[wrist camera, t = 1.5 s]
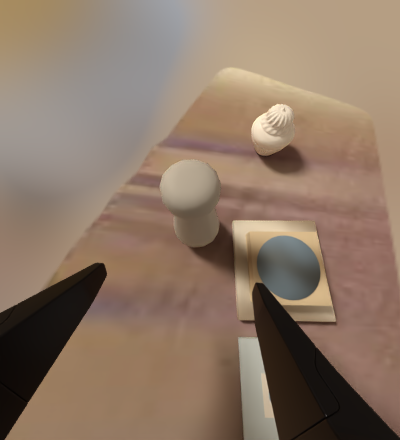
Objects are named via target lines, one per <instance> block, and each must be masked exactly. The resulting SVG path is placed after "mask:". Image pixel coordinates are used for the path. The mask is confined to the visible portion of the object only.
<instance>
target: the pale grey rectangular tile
mask: <svg viewBox="0 0 400 440" xmlns="http://www.w3.org/2000/svg"><path fill="white" fill-rule="evenodd" d="M238 344H239V363H240V381H241V400H242V419H243V438H244V440H279V437H278V433H277V428H276V423H275V418H274V413H273V409H272V404H271V399H270V394H269V390H268V385H267V380H266V375H265V370H264V366H263V361H262V356H261V351H260V346H259V342H258V337H238Z"/></svg>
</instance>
